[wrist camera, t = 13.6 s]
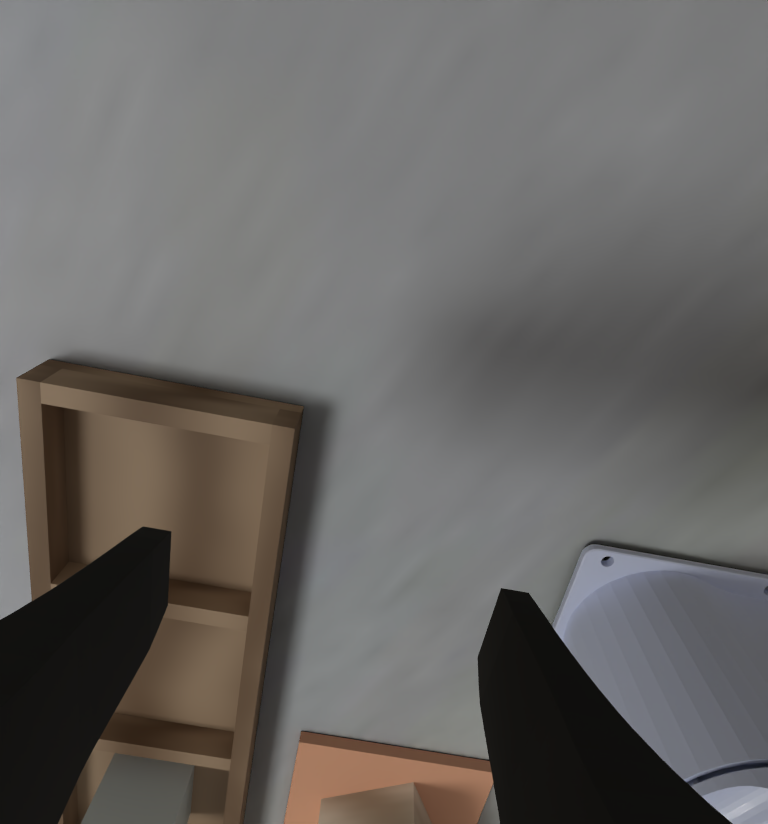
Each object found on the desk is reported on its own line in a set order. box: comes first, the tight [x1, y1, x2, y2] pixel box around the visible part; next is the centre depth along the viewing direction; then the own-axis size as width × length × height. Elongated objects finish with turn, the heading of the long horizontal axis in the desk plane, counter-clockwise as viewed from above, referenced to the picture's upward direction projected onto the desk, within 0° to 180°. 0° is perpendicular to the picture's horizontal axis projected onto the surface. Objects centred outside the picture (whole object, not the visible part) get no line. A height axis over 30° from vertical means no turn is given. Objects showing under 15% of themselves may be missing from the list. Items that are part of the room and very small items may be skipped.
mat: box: [284, 731, 493, 824], centre depth 31 cm, size 10×10×1 cm
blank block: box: [81, 753, 195, 824], centre depth 29 cm, size 4×4×4 cm
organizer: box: [16, 359, 304, 824], centre depth 27 cm, size 10×27×2 cm, turn 169°
